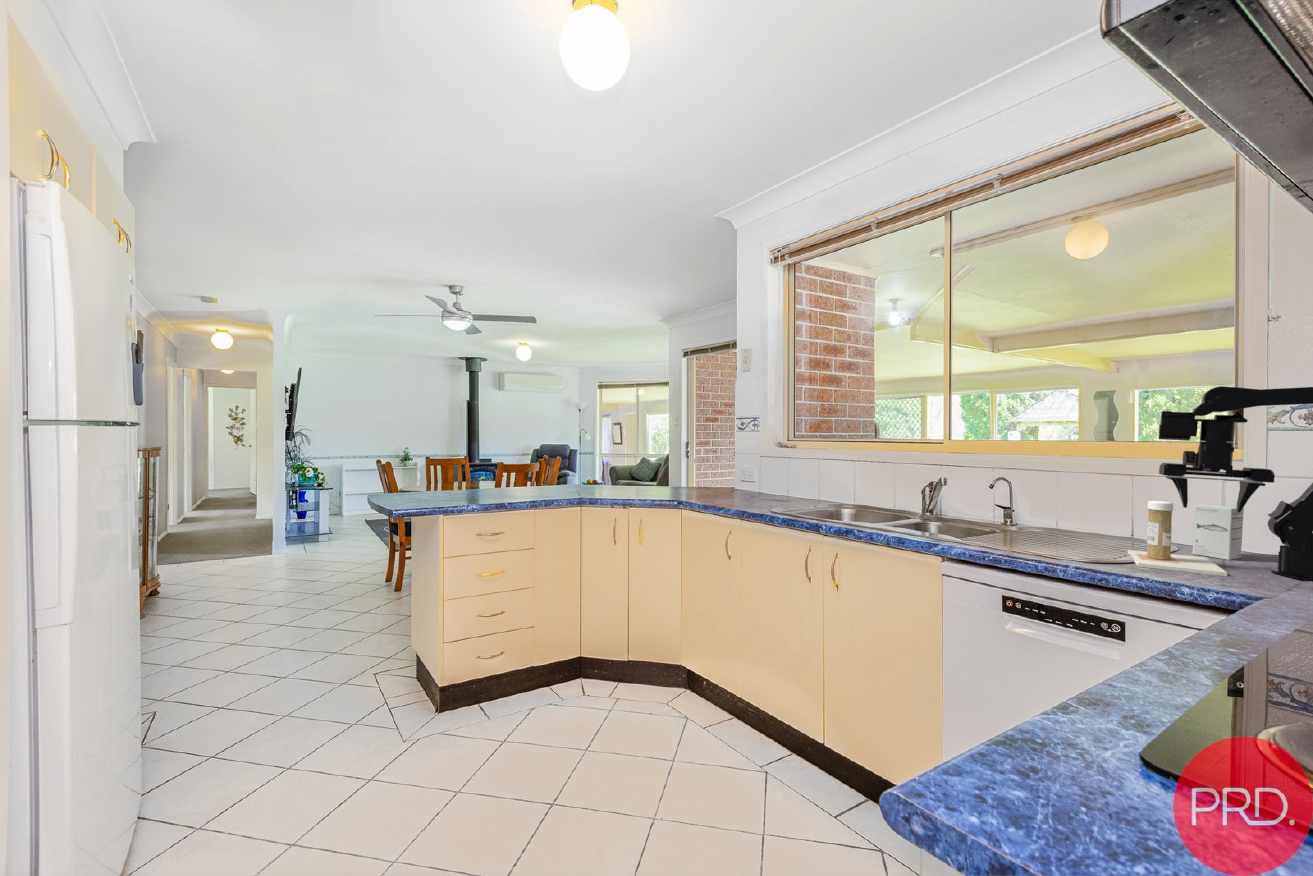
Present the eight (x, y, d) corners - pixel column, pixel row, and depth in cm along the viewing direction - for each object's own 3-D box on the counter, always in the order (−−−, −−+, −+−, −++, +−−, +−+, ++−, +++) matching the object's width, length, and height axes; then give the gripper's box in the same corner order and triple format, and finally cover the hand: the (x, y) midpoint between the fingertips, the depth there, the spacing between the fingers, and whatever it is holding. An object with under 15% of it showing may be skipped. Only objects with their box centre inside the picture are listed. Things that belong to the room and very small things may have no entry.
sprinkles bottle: (1174, 561, 139) (1176, 503, 139) (1149, 559, 141) (1152, 502, 140) (1166, 557, 143) (1168, 501, 143) (1142, 555, 145) (1145, 499, 145)
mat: (1206, 561, 144) (1206, 557, 144) (1227, 576, 129) (1227, 572, 129) (1127, 552, 152) (1127, 549, 152) (1138, 566, 137) (1138, 562, 137)
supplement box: (1191, 554, 152) (1193, 504, 152) (1204, 552, 155) (1206, 503, 155) (1229, 560, 145) (1231, 508, 145) (1242, 557, 149) (1244, 507, 149)
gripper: (1259, 443, 140) (1254, 510, 140) (1156, 439, 149) (1152, 501, 150) (1278, 444, 130) (1272, 516, 131) (1166, 439, 139) (1161, 506, 140)
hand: (1211, 509), depth 138 cm, fingers open, 9 cm apart
